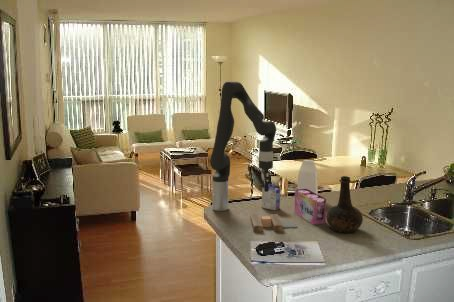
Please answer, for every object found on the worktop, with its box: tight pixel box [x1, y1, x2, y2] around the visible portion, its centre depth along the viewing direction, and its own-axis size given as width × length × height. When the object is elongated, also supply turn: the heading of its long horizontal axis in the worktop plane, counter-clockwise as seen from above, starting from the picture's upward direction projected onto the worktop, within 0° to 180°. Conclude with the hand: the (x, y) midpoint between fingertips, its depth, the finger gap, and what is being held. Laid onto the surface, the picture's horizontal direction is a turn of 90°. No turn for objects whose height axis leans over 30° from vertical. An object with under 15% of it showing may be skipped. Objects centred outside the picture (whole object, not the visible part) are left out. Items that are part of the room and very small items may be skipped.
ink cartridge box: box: [261, 183, 281, 211], centre depth 260 cm, size 10×6×14 cm, turn 55°
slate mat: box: [281, 221, 299, 229], centre depth 231 cm, size 8×8×1 cm
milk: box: [296, 159, 319, 195], centre depth 273 cm, size 12×12×26 cm
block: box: [260, 215, 272, 228], centre depth 231 cm, size 4×4×4 cm
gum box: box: [294, 188, 327, 225], centre depth 242 cm, size 24×8×14 cm, turn 18°
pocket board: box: [249, 213, 284, 233], centre depth 231 cm, size 15×18×3 cm
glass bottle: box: [326, 175, 364, 234], centre depth 222 cm, size 18×18×28 cm
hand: (265, 189), depth 234 cm, fingers open, 7 cm apart
